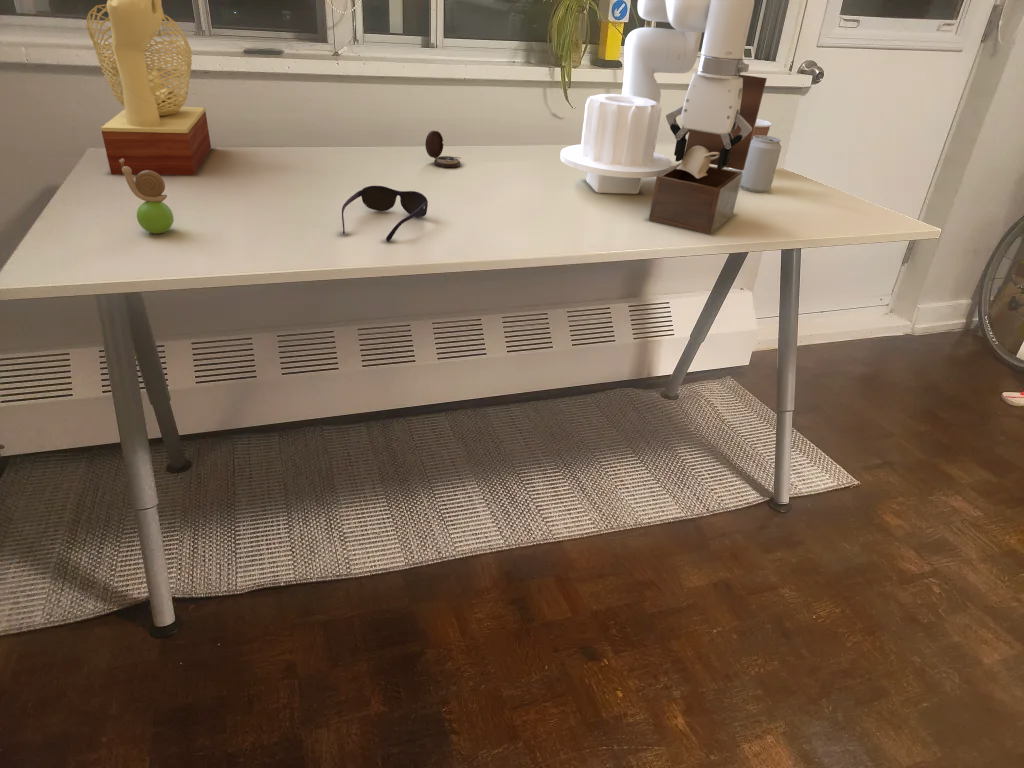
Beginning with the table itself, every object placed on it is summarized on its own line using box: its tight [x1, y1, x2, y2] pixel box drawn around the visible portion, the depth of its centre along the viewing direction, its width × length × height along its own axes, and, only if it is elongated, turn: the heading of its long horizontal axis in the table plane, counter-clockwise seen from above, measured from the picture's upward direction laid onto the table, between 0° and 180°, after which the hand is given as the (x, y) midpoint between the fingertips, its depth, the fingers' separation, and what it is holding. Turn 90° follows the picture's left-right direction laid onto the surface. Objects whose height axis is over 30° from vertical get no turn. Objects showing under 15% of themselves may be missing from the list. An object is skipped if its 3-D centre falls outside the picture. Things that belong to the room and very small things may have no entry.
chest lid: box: [684, 73, 768, 170], centre depth 146 cm, size 18×13×6 cm
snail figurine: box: [119, 158, 174, 235], centre depth 116 cm, size 5×6×12 cm
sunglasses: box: [341, 185, 429, 242], centre depth 128 cm, size 14×16×5 cm
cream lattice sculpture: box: [85, 0, 212, 176], centre depth 146 cm, size 25×18×35 cm
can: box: [740, 135, 782, 193], centre depth 167 cm, size 8×8×12 cm
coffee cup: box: [728, 118, 773, 172], centre depth 184 cm, size 10×10×12 cm
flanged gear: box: [559, 93, 673, 195], centre depth 158 cm, size 25×25×19 cm
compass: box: [424, 129, 462, 168], centre depth 168 cm, size 8×8×7 cm
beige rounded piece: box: [676, 146, 720, 179], centre depth 139 cm, size 4×8×5 cm, turn 26°
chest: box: [648, 162, 743, 235], centre depth 145 cm, size 17×13×9 cm
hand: (699, 163), depth 139 cm, fingers closed on beige rounded piece, 7 cm apart
